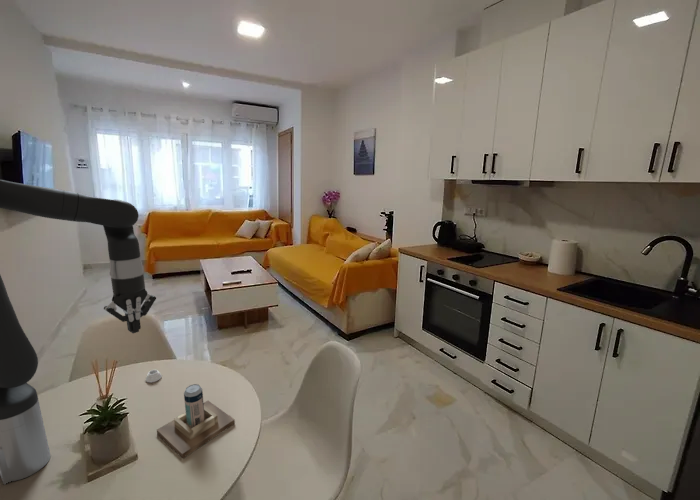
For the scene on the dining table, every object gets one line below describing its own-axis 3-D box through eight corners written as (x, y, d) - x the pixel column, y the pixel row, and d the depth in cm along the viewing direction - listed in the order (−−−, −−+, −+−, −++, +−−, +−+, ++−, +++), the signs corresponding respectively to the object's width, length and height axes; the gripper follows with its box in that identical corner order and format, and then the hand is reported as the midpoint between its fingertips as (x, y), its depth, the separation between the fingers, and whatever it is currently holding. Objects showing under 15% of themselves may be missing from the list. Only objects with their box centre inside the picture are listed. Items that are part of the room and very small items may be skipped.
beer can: (208, 419, 101) (205, 384, 98) (199, 431, 97) (196, 394, 94) (193, 417, 102) (189, 382, 99) (183, 429, 97) (179, 392, 94)
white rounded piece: (156, 373, 126) (143, 380, 122) (155, 366, 125) (142, 373, 121) (164, 377, 123) (150, 385, 119) (163, 370, 123) (149, 377, 118)
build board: (182, 458, 89) (181, 446, 88) (157, 434, 97) (155, 422, 96) (234, 423, 102) (234, 412, 101) (208, 404, 110) (207, 393, 109)
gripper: (104, 282, 85) (113, 345, 89) (158, 271, 95) (165, 327, 99) (93, 276, 89) (102, 336, 93) (146, 266, 100) (153, 320, 104)
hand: (134, 331), depth 96 cm, fingers closed
